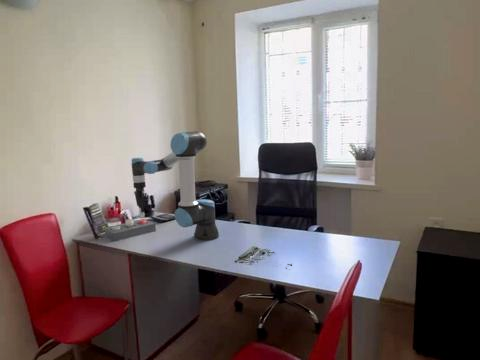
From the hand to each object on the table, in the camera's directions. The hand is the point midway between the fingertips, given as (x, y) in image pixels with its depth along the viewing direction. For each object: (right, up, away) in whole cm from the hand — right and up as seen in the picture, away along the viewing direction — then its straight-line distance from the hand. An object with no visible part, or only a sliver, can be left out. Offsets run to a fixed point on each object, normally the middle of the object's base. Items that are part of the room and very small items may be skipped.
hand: (142, 216), depth 247 cm
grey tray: (-7, -10, -4) cm, 13 cm away
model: (+80, -17, -54) cm, 98 cm away
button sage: (-14, -10, -10) cm, 19 cm away
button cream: (-7, -6, -5) cm, 10 cm away
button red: (0, -7, +1) cm, 7 cm away
